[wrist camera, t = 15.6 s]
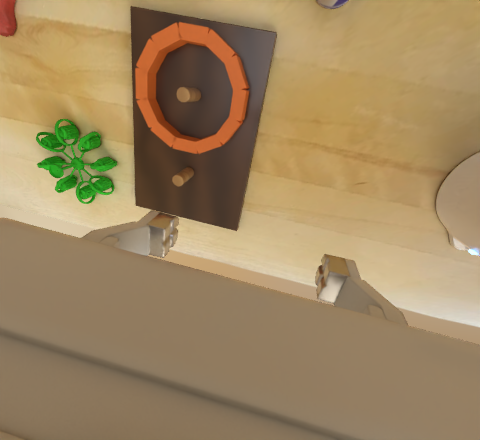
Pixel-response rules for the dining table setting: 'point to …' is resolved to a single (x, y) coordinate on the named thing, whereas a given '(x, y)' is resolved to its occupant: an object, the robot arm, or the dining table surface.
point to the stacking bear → (7, 17)
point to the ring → (146, 84)
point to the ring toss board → (198, 121)
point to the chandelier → (75, 161)
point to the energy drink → (331, 3)
